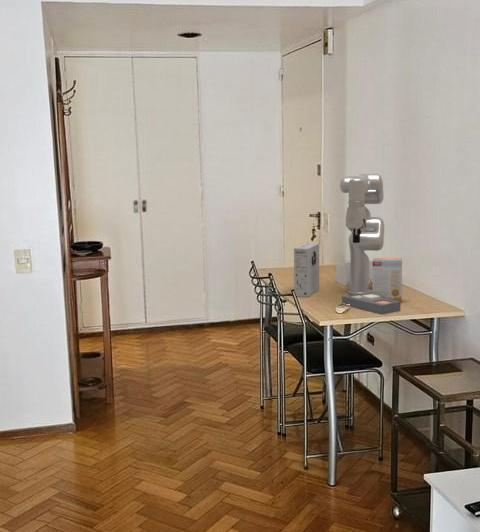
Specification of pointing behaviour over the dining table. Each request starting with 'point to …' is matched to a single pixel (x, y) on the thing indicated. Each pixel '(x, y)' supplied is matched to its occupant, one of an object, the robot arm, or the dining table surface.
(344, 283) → the storage container
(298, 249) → the cereal box
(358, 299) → the key panel
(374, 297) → the middle key
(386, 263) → the cracker box
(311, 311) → the dining table surface
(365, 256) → the robot arm
